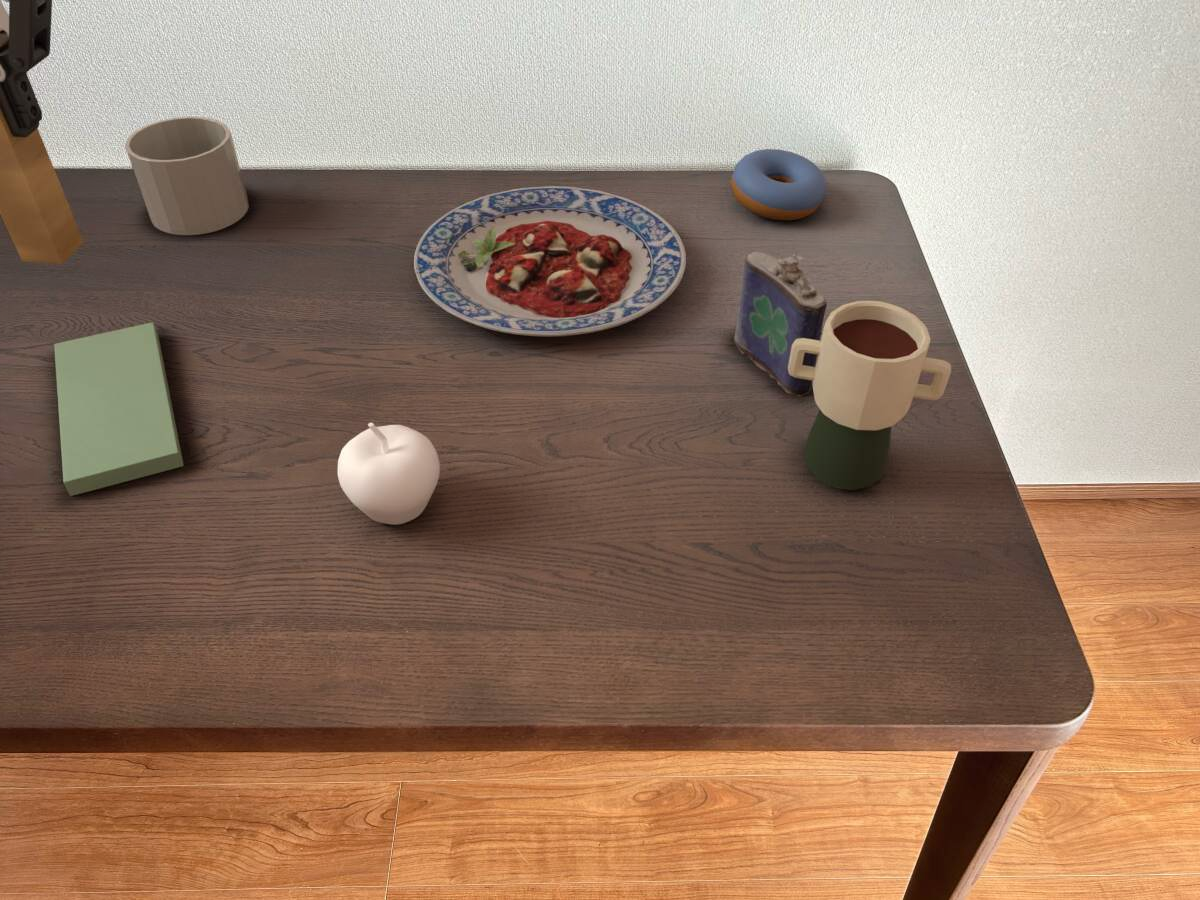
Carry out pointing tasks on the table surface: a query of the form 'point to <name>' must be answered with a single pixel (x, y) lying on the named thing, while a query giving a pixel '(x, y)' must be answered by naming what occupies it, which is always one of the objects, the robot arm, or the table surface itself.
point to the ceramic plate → (549, 261)
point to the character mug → (863, 388)
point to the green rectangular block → (114, 409)
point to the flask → (778, 316)
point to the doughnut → (778, 184)
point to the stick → (34, 200)
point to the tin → (188, 175)
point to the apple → (389, 472)
